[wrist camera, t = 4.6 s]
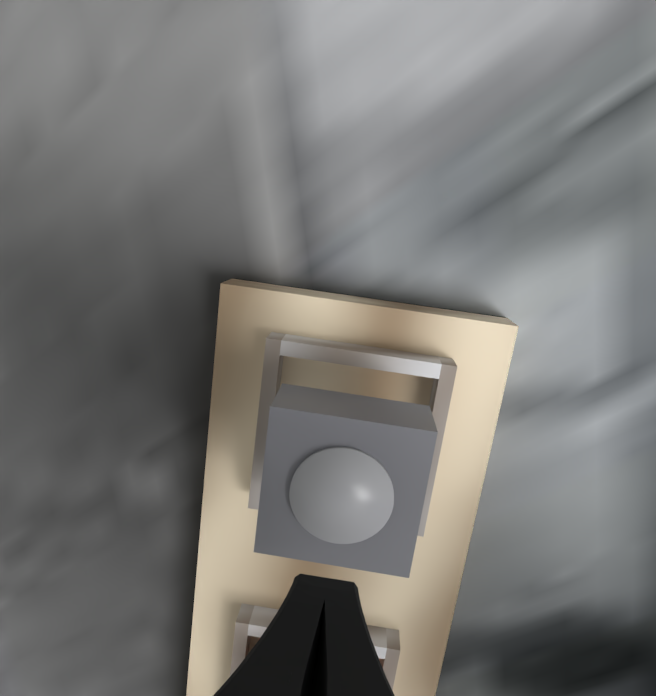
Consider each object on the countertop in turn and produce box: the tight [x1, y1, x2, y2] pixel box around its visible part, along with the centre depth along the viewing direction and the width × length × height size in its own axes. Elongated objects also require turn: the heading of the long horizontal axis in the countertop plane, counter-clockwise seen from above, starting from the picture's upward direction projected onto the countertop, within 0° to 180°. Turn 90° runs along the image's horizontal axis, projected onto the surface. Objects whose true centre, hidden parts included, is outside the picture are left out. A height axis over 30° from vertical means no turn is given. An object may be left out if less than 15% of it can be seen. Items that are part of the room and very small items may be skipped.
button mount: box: [186, 279, 519, 696], centre depth 20 cm, size 10×20×2 cm, turn 172°
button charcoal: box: [254, 383, 438, 578], centre depth 15 cm, size 4×4×2 cm
